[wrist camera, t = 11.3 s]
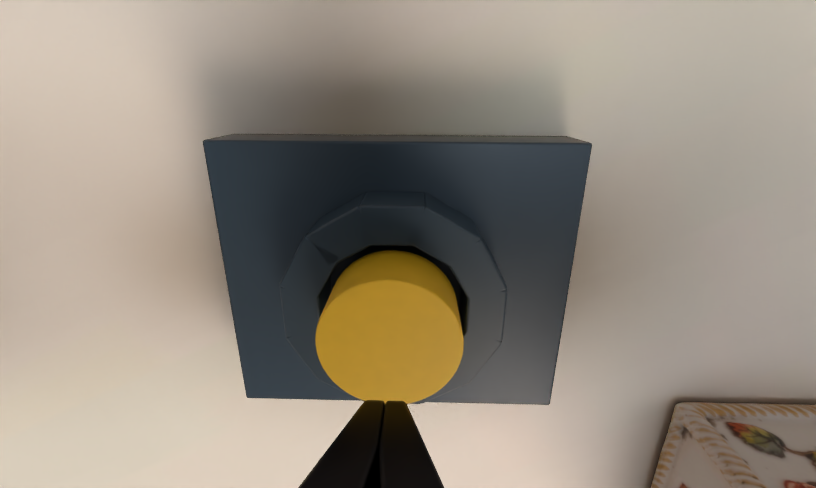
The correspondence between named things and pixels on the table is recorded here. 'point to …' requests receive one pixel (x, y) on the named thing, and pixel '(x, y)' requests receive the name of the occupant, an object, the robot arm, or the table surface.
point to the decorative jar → (739, 446)
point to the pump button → (390, 328)
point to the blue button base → (400, 246)
